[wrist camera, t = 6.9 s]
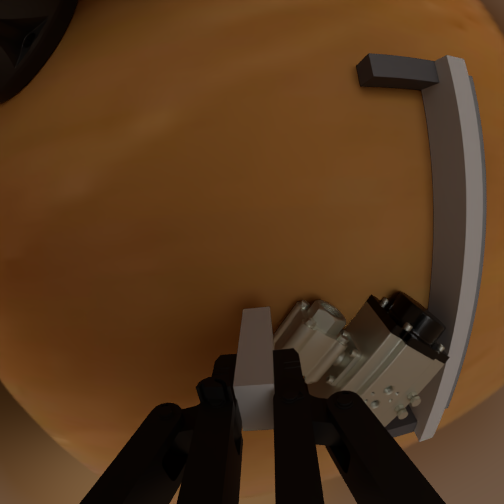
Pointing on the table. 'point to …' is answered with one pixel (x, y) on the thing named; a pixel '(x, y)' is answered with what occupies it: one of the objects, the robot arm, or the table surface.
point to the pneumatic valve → (366, 351)
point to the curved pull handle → (445, 213)
